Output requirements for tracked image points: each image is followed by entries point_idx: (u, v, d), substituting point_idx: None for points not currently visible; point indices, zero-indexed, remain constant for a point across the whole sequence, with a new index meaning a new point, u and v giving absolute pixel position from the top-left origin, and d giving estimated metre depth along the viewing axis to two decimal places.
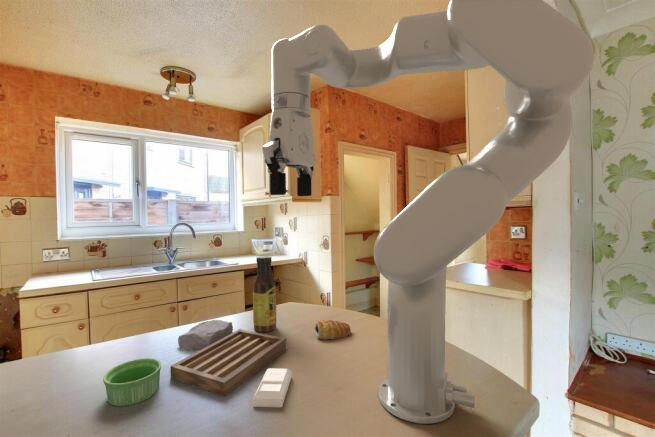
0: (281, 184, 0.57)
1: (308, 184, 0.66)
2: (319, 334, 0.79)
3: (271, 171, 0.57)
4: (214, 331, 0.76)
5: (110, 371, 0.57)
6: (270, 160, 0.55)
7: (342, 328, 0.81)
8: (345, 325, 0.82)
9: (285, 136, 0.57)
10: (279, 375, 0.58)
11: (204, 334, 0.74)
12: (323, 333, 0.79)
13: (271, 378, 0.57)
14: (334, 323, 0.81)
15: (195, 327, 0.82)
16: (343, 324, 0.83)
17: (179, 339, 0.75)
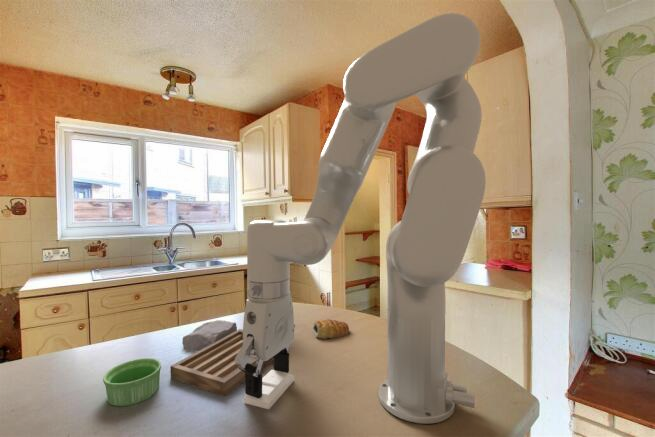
0: (257, 387, 0.53)
1: (285, 362, 0.60)
2: (318, 333, 0.79)
3: (246, 373, 0.53)
4: (219, 331, 0.76)
5: (110, 371, 0.57)
6: (244, 369, 0.51)
7: (341, 327, 0.81)
8: (343, 324, 0.83)
9: (259, 335, 0.52)
10: (277, 378, 0.58)
11: (209, 334, 0.74)
12: (322, 332, 0.79)
13: (268, 380, 0.58)
14: (333, 322, 0.82)
15: (199, 327, 0.82)
16: (341, 323, 0.83)
17: (183, 340, 0.75)
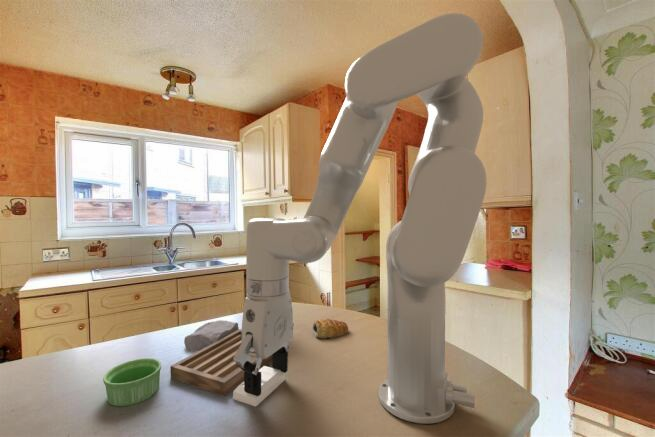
0: (256, 385, 0.53)
1: (284, 360, 0.60)
2: (318, 333, 0.79)
3: (245, 371, 0.53)
4: (221, 332, 0.75)
5: (110, 371, 0.57)
6: (243, 367, 0.51)
7: (340, 327, 0.81)
8: (343, 324, 0.83)
9: (258, 333, 0.52)
10: (268, 375, 0.59)
11: (211, 334, 0.74)
12: (322, 331, 0.79)
13: None
14: (332, 322, 0.82)
15: (201, 327, 0.81)
16: (341, 323, 0.83)
17: (185, 340, 0.75)
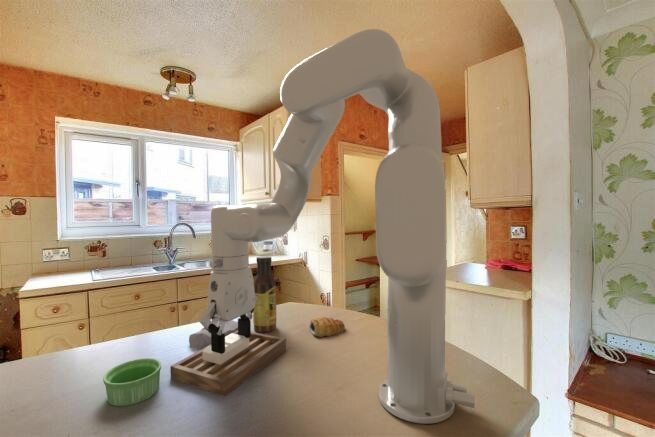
0: (220, 344, 0.63)
1: (247, 327, 0.70)
2: (315, 331, 0.80)
3: (211, 333, 0.63)
4: (223, 331, 0.75)
5: (110, 371, 0.57)
6: (208, 328, 0.61)
7: (337, 325, 0.83)
8: (339, 322, 0.85)
9: (220, 300, 0.62)
10: (233, 339, 0.69)
11: None
12: (320, 330, 0.80)
13: (225, 340, 0.69)
14: (329, 320, 0.84)
15: None
16: (337, 321, 0.85)
17: (190, 338, 0.76)
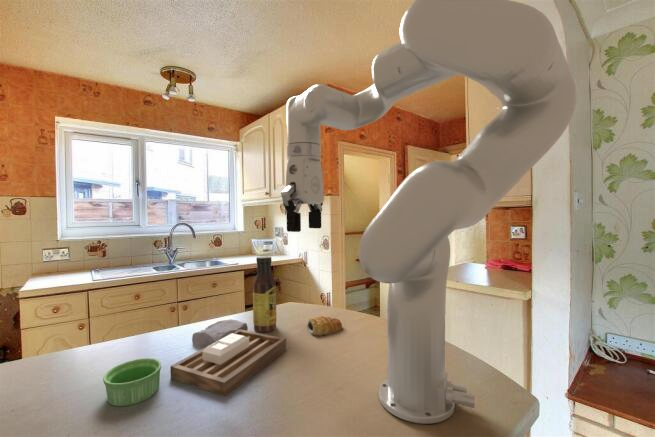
0: (297, 222, 0.66)
1: (318, 218, 0.75)
2: (314, 330, 0.81)
3: (288, 211, 0.66)
4: (224, 331, 0.76)
5: (110, 371, 0.57)
6: (287, 203, 0.64)
7: (335, 323, 0.84)
8: (337, 320, 0.86)
9: (300, 181, 0.66)
10: (233, 339, 0.69)
11: (214, 333, 0.74)
12: (318, 329, 0.81)
13: (225, 340, 0.69)
14: (327, 319, 0.84)
15: (212, 325, 0.83)
16: (335, 320, 0.86)
17: (193, 336, 0.77)
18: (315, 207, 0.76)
